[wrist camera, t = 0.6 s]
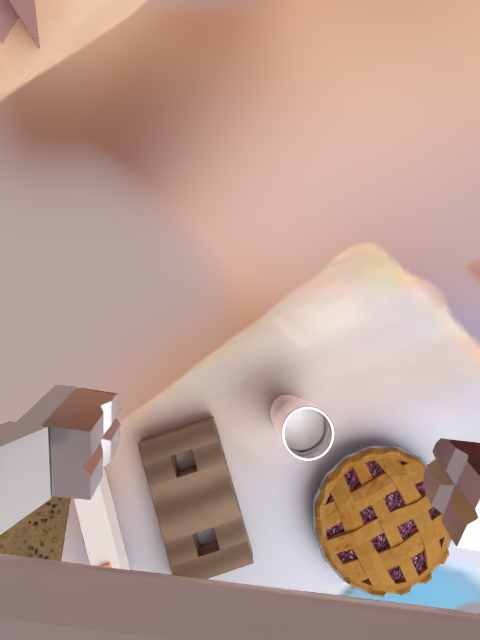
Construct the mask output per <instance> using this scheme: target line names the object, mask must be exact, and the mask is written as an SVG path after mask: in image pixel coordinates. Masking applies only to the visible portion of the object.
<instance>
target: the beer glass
mask: <svg viewBox="0 0 480 640" xmlns="http://www.w3.org/2000/svg"><path fill="white" fill-rule="evenodd" d="M270 418H271V421H272V423H273V424H274V426H275V431H276V434H277V437H278V439H279V440H280V442H281V443H282V445H283V446H284V447H285V448H286V449H287V450H288V451H289V453H290V454H292V455H293V456H294V457H296V458H298V459H301V460H315V459H318V458H320V457H322V456H323V455H325V454H326V453H327V452H328V450H329V449H330V447H331V446H332V443H333V440H334V428H333V424H332V422H331V420H330V418H329V417H328V415H327V414H326V413H325V412H323V411H322V410H321V409H320V408H319V407H318V406H316V405H315V404H313V403H312V402H309V401H307V400H303V399H299V398H298V397H296V396H294V395H290V394H286V395H282V396H280V397H278V398H277V399H275V401H274V402H273V403H272V405H271V408H270Z"/></svg>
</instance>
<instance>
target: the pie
mask: <svg viewBox="0 0 480 640" xmlns="http://www.w3.org/2000/svg"><path fill="white" fill-rule="evenodd" d="M426 467H427V464H426V463H425V462H424V461H423V460H422V458H420V457H418V456H416V455H414V454H412V453H410V452H408V451H406V450H405V449H403V448H401V447H399V446H379V445H371V446H368V447H366V448H363V449H361V450H358V451H356V452H353V453H351V454H348V455H346V456H345V457H343V458H342V459H341V460H340V461H339V462H338V463H337V464H336V465H335V466H334V467H333V468H332V469H331V470H329V471H328V472H327V473H326V474H325V475H324V478H323V480H322V482H321V484H320V486H319V488H318V490H317V492H316V495H315V497H314V499H313V531H314V534H315V536H316V539H317V542H318V544H319V547H320V550H321V552H322V555H323V558H324V559H325V560H326V561H327V562H328V564H329V565H330V566H331V567H332V568H333V570H334V571H335V572H336V573H337V574H338V576H339V577H340V578H341V579H342V580H343V581H344V582H346V583H348V584H350V585H352V586H354V587H356V588H357V589H359V590H361V591H363V592H365V593H367V594H371V595H375V596H381V597H384V595H385V594H400V595H403V594H406V593H408V592H410V589H411V587H413V586H416V585H418V584H420V583H427V582H428V581H429V580H431V579H432V576H431V573H432V572H433V571H434V570H435V569H436V568H437V567H438V566H439V565H440V564H444V563H445V561H446V559H447V557H448V555H449V552H448V547H449V545H450V543H451V540H452V538H451V537H450V535H449V533H448V532H447V530H446V528H445V527H444V525H443V523H442V522H441V519H442V513H441V512H439V511H438V510H437V509H436V508H434V507H433V506H432V505H431V503H430V502H429V500H428V498H427V497H426V494H425V490H424V483H423V476H424V473H425V470H426Z"/></svg>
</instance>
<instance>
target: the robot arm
mask: <svg viewBox="0 0 480 640" xmlns="http://www.w3.org/2000/svg"><path fill="white" fill-rule="evenodd" d="M120 410H121V397H120V395H119V394H117V393H110V392H104V391H97V390H91V389H85V388H78V387H72V386H63V385H57V386H54V387H53V388H52V389H51V390H50V391H49V392H48V393H47V394H46V395H45V396H44V397H43V398H41V399H40V400H39V401H38V402H37V403H36V404H35V405H34V406H33V407H32V408H31V409H30V410H29V411H28V412H27V413H26V414H25V415H23V416H22V417H21V418H20V419H19V420H18V421H17V422H7V423H4V424H1V425H0V535H1V534H2V533H4V532H5V531H6V530H8V529H9V528H11V527H12V526H13V525H15V524H16V523H18V522H19V521H20V520H22V519H23V518H25V517H26V516H27V515H29V514H30V513H32V512H33V511H34V510H36V509H37V508H38V507H40V506H41V505H43V504H44V503H45V502H47V501H48V500H50V499H51V496H53V497H64V498H74V499H84V500H91V498H92V496H93V494H94V492H95V491H96V489H97V487H98V485H99V483H100V481H101V479H102V477H103V467H104V466H106V465H108V464H109V463H110V462H111V460H112V458H113V456H114V454H115V451H116V448H117V445H118V441H119V435H120V423H119V422H118V420H117V419H116V416H117V415H118V413H119V411H120ZM433 454H434V456H435V460H434V461H432V462H431V463H430V464H428V465H427V467H426V470H425V473H424V476H423V483H424V490H425V494H426V497H427V498H428V500H429V502H430V503H431V505H432V506H433V507H434V508H436V509H437V510H438V511H439V512H441V513H442V519H441V522H442V523H443V525H444V527H445V528H446V530H447V532H448V533H449V535H450V537H451V538H452V540H453V541H454V543H455V545H456V546H457V547H459V548H465V549H472V550H478V551H480V443H477V442H468V441H460V440H451V439H442V438H441V439H440V440H439V441H438V442H437V443H436V444H435V447H434V449H433ZM0 640H480V613H476V612H467V611H459V610H452V609H444V608H435V607H427V606H419V605H411V604H403V603H395V602H387V601H379V600H371V599H363V598H355V597H347V596H339V595H331V594H323V593H315V592H307V591H298V590H290V589H282V588H274V587H266V586H258V585H250V584H242V583H233V582H225V581H217V580H209V579H201V578H192V577H184V576H176V575H168V574H160V573H152V572H143V571H135V570H127V569H119V568H111V567H103V566H95V565H87V564H79V563H71V562H63V561H55V560H47V559H39V558H31V557H23V556H15V555H7V554H0Z"/></svg>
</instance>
